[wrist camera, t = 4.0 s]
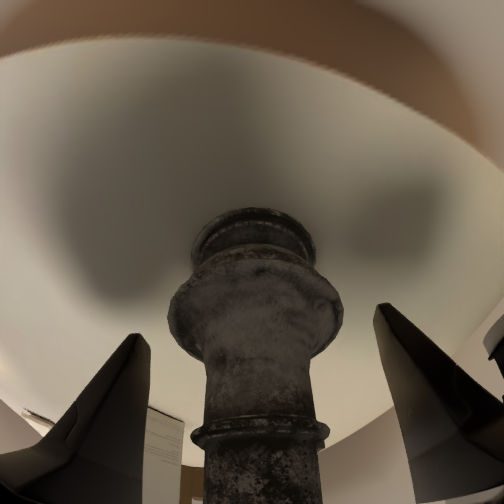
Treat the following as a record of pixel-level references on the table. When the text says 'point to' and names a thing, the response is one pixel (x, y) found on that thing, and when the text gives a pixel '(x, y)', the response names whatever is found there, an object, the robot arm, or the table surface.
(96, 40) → the table surface
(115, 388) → the robot arm
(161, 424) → the white packaging box
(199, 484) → the candle
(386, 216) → the table surface
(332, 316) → the pepper mill
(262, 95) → the table surface
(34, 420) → the wall bracket
